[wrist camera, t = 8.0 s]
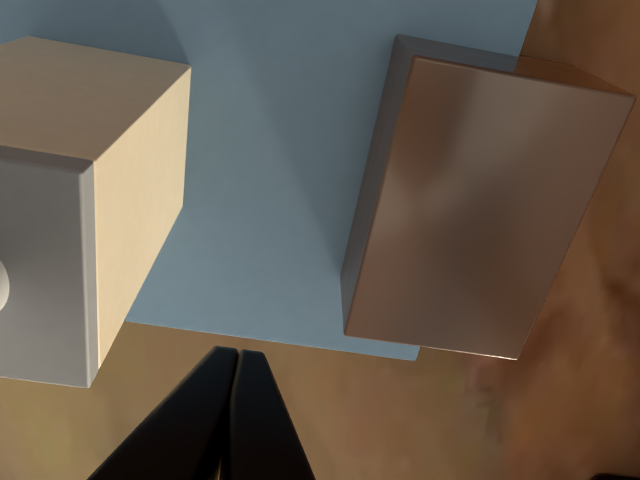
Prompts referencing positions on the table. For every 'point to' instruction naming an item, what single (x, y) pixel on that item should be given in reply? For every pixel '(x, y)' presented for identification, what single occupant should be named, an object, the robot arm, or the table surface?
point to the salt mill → (82, 198)
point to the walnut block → (472, 195)
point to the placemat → (268, 143)
